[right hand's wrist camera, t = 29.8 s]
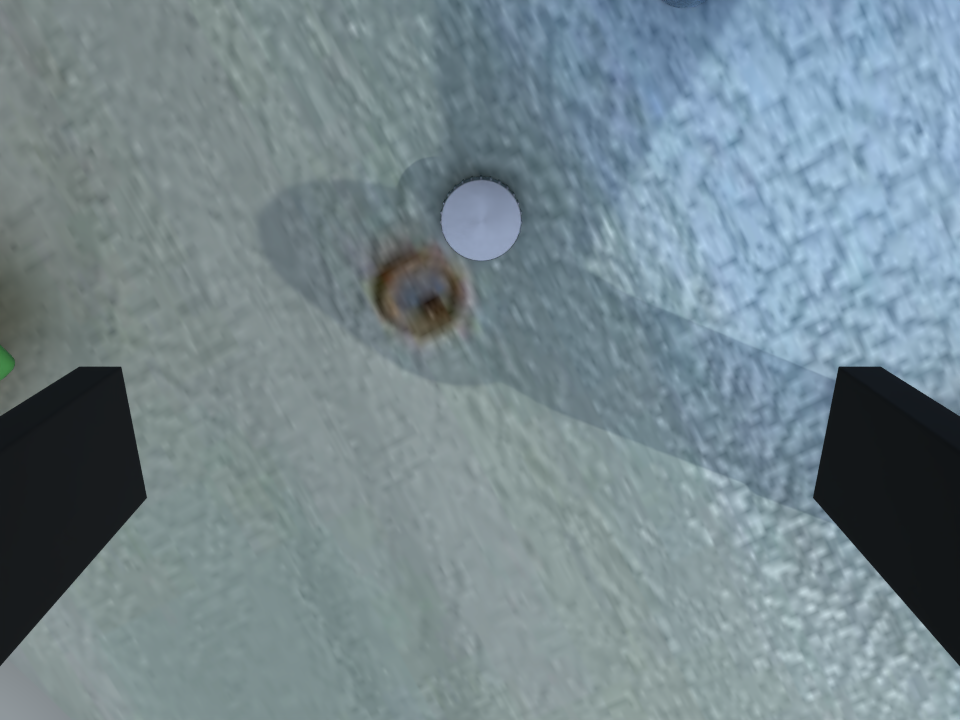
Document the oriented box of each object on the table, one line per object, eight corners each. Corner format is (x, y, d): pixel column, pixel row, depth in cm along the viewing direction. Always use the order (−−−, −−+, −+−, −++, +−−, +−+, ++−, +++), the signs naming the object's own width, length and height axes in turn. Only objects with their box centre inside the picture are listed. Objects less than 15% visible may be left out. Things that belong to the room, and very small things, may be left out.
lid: (444, 257, 42) (442, 264, 40) (438, 177, 40) (436, 180, 38) (521, 253, 42) (523, 260, 40) (519, 172, 40) (521, 175, 38)
